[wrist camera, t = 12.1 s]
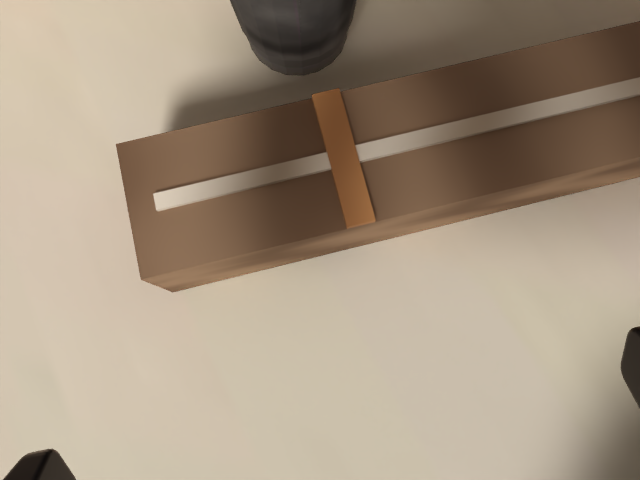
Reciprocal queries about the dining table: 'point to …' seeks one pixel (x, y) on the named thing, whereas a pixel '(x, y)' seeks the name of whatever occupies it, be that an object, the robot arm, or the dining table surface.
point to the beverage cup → (295, 31)
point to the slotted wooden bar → (384, 159)
